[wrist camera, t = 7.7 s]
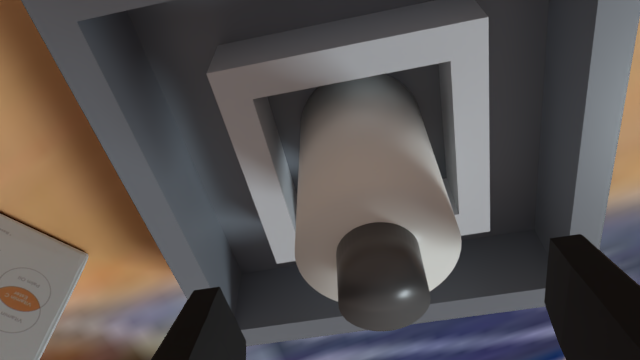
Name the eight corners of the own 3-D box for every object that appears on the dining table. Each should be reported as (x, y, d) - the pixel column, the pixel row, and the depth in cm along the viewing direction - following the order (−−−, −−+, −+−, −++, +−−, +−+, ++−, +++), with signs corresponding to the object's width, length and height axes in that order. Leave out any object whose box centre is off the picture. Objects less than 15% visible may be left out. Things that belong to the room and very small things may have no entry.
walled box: (592, -172, 13) (671, -166, 10) (553, 233, 21) (590, 300, 18) (74, -49, 14) (14, -12, 11) (228, 282, 22) (215, 350, 20)
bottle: (415, 60, 16) (477, 221, 10) (423, 164, 18) (477, 346, 12) (289, 82, 16) (272, 250, 10) (313, 181, 18) (311, 365, 12)
